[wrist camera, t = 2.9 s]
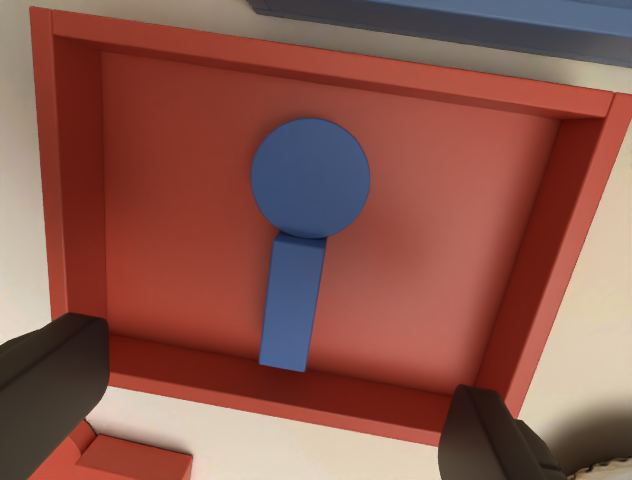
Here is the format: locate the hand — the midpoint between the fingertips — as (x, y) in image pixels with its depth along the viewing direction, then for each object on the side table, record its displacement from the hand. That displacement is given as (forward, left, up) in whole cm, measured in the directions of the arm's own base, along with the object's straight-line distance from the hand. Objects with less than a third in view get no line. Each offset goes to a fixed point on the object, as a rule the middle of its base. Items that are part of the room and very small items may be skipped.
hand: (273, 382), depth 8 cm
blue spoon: (0, +2, -5) cm, 5 cm away
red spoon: (-10, -7, -6) cm, 14 cm away
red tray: (0, +2, -6) cm, 6 cm away
